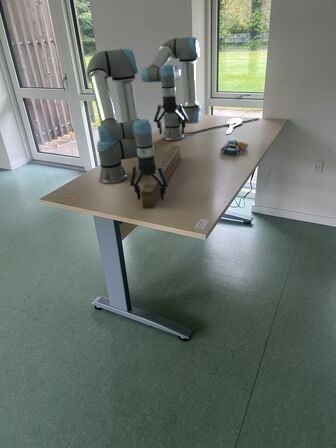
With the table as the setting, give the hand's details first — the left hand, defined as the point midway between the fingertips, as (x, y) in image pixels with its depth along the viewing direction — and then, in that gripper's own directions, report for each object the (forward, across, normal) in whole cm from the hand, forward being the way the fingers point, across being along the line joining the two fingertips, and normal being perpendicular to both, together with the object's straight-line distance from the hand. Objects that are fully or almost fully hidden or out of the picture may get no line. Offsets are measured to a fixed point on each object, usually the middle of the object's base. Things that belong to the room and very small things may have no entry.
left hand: (150, 199), depth 161 cm
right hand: (-16, 0, +54) cm, 56 cm away
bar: (+2, 0, +27) cm, 27 cm away
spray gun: (+2, +35, +74) cm, 82 cm away
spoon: (+2, +30, +128) cm, 131 cm away
